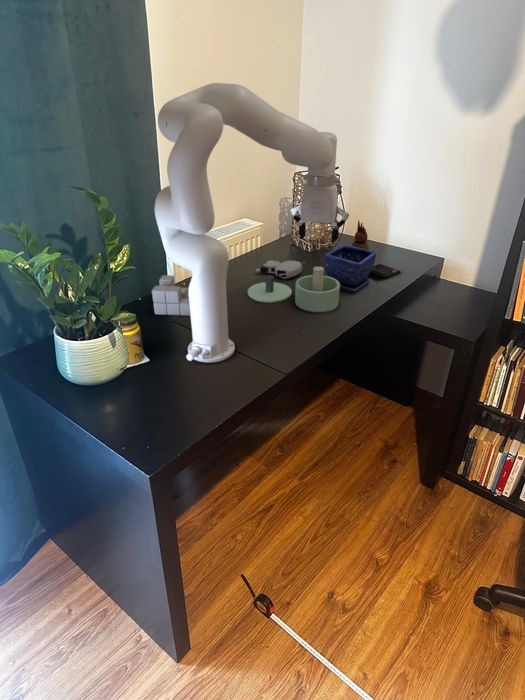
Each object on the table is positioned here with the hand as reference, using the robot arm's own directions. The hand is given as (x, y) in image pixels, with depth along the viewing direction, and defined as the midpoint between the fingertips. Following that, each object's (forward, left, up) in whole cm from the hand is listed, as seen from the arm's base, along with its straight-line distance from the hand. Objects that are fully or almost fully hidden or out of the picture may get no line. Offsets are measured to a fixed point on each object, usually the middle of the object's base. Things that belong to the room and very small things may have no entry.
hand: (318, 239), depth 148 cm
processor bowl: (-1, -1, -21) cm, 21 cm away
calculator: (+31, -15, -21) cm, 41 cm away
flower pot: (+16, -7, -21) cm, 27 cm away
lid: (0, +16, -20) cm, 26 cm away
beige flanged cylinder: (-1, -1, -20) cm, 20 cm away
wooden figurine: (+41, -5, -21) cm, 47 cm away
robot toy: (+17, +18, -21) cm, 33 cm away
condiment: (-51, +35, -21) cm, 65 cm away
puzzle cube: (-19, +39, -21) cm, 48 cm away
